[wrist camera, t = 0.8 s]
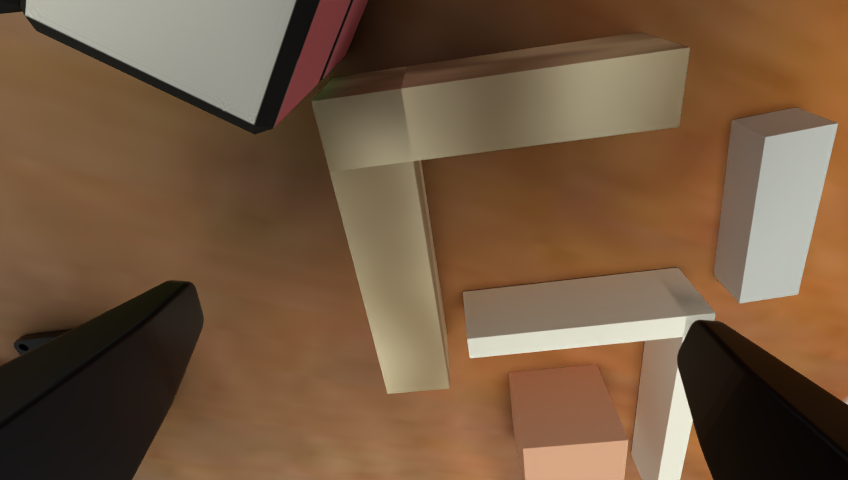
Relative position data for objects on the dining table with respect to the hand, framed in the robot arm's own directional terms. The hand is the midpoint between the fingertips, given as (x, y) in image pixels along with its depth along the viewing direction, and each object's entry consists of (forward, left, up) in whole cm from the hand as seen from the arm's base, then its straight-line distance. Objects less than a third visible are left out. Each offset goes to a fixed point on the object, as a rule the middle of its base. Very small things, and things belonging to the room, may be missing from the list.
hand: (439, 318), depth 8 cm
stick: (+14, -6, -13) cm, 20 cm away
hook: (+2, -5, -13) cm, 14 cm away
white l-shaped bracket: (+5, -17, -13) cm, 22 cm away
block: (+5, -18, -13) cm, 22 cm away
